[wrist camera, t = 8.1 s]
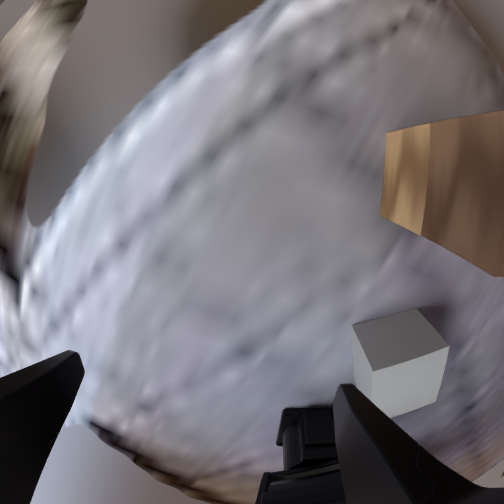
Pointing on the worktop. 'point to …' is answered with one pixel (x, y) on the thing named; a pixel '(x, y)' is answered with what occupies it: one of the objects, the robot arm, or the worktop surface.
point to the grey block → (398, 361)
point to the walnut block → (467, 189)
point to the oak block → (406, 176)
